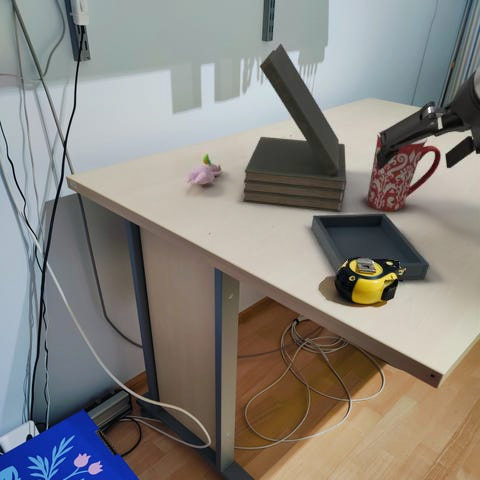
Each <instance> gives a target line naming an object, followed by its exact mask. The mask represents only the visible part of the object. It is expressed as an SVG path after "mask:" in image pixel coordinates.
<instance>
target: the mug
mask: <svg viewBox="0 0 480 480" xmlns="http://www.w3.org/2000/svg"><path fill="white" fill-rule="evenodd" d="M386 129H387V128H385V129H381V130H379V131H378V132H377V133H376V137H377V139H376V145H375V150H374V157H373V162H372V169H371V174H370V178H369V179H370V180H369V185H368V190H367V197H366V202H367V204H368V205H369V206H370V207H372V208H373V209H376V210H380V211H386V212H394V211H399V210H401V209H402V208H403V207H404V205H405V202H406V198H407V197H408V196H410V195H412V194H413V193H414V192H415V191H416V190H418V189H419V188H420V187H422V185H424V184H425V183H426V182H427V181H428V180H429V179H430V178H431V177H432V175H433V174H435V172H436V170H437V169H438V167H439V165H440V163H441V157H442V154H441V151H440V149H439V148H438V147H437V146H434V145H426V146H425V144H426V143H427V141H428V137H427V138H424V139H422V140H419V141H417V142H414V143H412V144H409V145H406V146H404V147H401V148H399V152H398V153H397V154H396V155H395V156H394V157H393V158H392V159H391V160H390V161H389V162H388V163H387V164H386V165H385V166H384V167H383V168H382V169H378V167H377V157H376V155H377V153H378V152H379V151H380V147H381V139H380V133H381V132H382V131H384V130H386ZM430 152H431V153H434V159H433V162H432V164H431V166H430V167H429V169H428V170H426V172H425V173H424V174H423V175H421V176H420V178H419V179H418V180H417V181H415V182H414V183H413V184H412V181H413V178H414V175H415V173H416V170H417V167H418V165H419V162H420V161H421V160H423V158H424V157H425V155H426V154H428V153H430Z"/></svg>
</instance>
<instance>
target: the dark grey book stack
mask: <svg viewBox="0 0 480 480" xmlns="http://www.w3.org/2000/svg"><path fill="white" fill-rule="evenodd" d="M259 68H260V69H261V71H262V73H263V74H264V76H265V78H266V79H267V81H268V82H269V84H270V86H271V87H272V88H273V90H274V92H275V93H276V95H277V96H278V98H279V100H280V102H281V103H282V104H283V105H284V107H285V109H286V111H287V112H288V114H289V115H290V117H291V118H292V119H293V121H294V123H295V125H296V126H297V128H298V129H299V132H300V133H301V134H302V136H303V138H304V139H305V140H303V139H292V138H280V137H271V136H270V137H269V136H260V138H259V140H258V142H257V144H256V146H255V148H254V150H253V153H252V155H251V157H250V159H249V160H248V163H247V165H246V167H245V169H244V173H245V177H244V179H243V183H244V184H245V185H244V189H243V194H244V197H243V201H242V202H243V203H253V204H261V205H262V204H263V205H271V206H282V207H288V208H289V207H290V208H299V209H300V208H301V209H309V210H319V211H326V212H327V211H328V212H335V213H337V212H338V213H340V212H341V211H342V205H343V201H344V197H345V196H344V195H345V191H346V186H347V167H346V145H345V143H340V140H339V138H338V136H337V134H336V132H335V131H334V129H333V128H332V126H331V124H330V123H329V121H328V119H327V118H326V116H325V115H324V112H323V111H322V109H321V108H320V106H319V104H318V103H317V101H316V99H315V98H314V96H313V95H312V92H311V91H310V89H309V88H308V86H307V85H306V83H305V81H304V79H303V77H302V76H301V74H300V73H299V71H298V70H297V68H296V65H295V64H294V62H293V61H292V59H291V58H290V56H289V54H288V52H287V50H286V49H285V48H284V46H283V44H282V43H280V44H279V45H278V46H277V47H276V49H275V50H274V49H273V50H272V51H271V52H270V53H269V54H268V55H267V57H265V59H264V61H262V63H261V64H260V65H259Z"/></svg>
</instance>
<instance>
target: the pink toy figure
mask: <svg viewBox="0 0 480 480" xmlns="http://www.w3.org/2000/svg"><path fill="white" fill-rule="evenodd" d="M202 162H203V164H204V165H200V166H196V167H195V168H194V169H193V171H191V172H188V173H187V174H186V175H185V179H186V183H187V184H189V183H191V182H192V181H194V182H193V183H194V184H193V185H196V184H200V185H202V186H203V185H207V184H209V183H211V182H213V181H214V180H215V177H217V176H218V175H222V174H223V172H222V168H221V167H222V166H221V164H218V165H217V164H215V163H212V162H211V160H210V157H209V154H208V153H207V154H205V155H204V156H203V159H202Z"/></svg>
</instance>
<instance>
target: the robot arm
mask: <svg viewBox="0 0 480 480" xmlns="http://www.w3.org/2000/svg"><path fill="white" fill-rule="evenodd" d="M439 118H440V121H441V128H440V127H439ZM385 129H386V130H385ZM385 129H383V130H384V131H382V132H381V133H380V139H381V147H380V151H379V152H378V153H377V155H376V157H377V167H378V169H382V168H383V167H384V166H385V165H386V164H387V163H388V162H389V161H390V160H391V159H392V158H393V157H394V156H395V155H396V154H397V153H398V152H399V148H401V147H404V146H406V145H409V144H412V143H414V142H417V141H419V140H422V139H424V138H427V139H428V138H429V137H432V136H434V137H435V138H438V137H440V136H443V135H445V134H448V133H455V132H457V133H465V132H468V131H470V132H471V133H470V134H471V135H467V136H466V137H465V138H464V139H463V140H461V141H460V142H458V143H457V144H456V145H455V146H453V147H452V148H451V149H450V150H449V151H448V152H446V153H445V155H444V156H445V164H446V165H445V166H446V169H451V168H453V167H454V166H455V165H457V164H458V163H459V162H461V161H462V160H464V159H465V158H466V157H468V156H470V155H471V154H472V153H474V152H475V155H480V65H479V66H478V67H477V68H476V69H475V70H474V71H473V72H472V73H471V74H470V75H469V76H468V77H467V78H466V79H465V80H464V81H463V82H462V83H461V84H460V86H459V87H458V89H457V90H456V92H455V94H454V96H453V98H452V100H451V101H450V102H448V103H446V104H445V105H443V106H442V107H439V106H436V102H435V101H434V100H433V101H427V103H425V104H424V105H423V106H422V107H421V108H420V109H418V110H417V111H415V112H414V113H412V114H410V115H408V116H407V117H405V118H403V119H401V120H399V121H398V122H395V124H393V125H391V126H390V127H388V128H385Z"/></svg>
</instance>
